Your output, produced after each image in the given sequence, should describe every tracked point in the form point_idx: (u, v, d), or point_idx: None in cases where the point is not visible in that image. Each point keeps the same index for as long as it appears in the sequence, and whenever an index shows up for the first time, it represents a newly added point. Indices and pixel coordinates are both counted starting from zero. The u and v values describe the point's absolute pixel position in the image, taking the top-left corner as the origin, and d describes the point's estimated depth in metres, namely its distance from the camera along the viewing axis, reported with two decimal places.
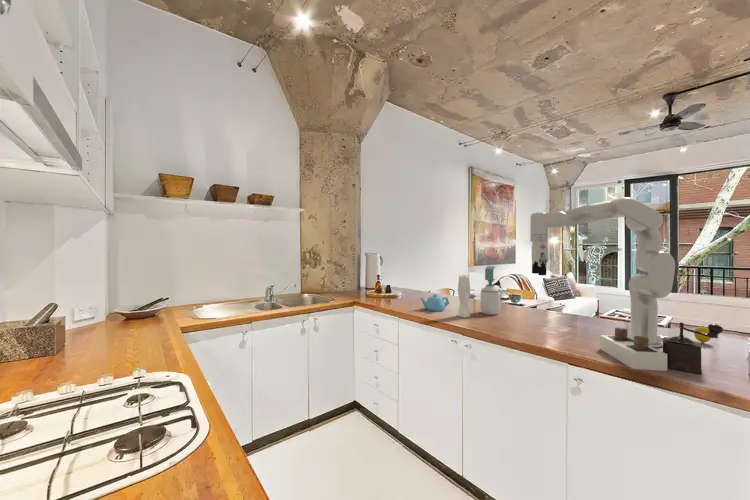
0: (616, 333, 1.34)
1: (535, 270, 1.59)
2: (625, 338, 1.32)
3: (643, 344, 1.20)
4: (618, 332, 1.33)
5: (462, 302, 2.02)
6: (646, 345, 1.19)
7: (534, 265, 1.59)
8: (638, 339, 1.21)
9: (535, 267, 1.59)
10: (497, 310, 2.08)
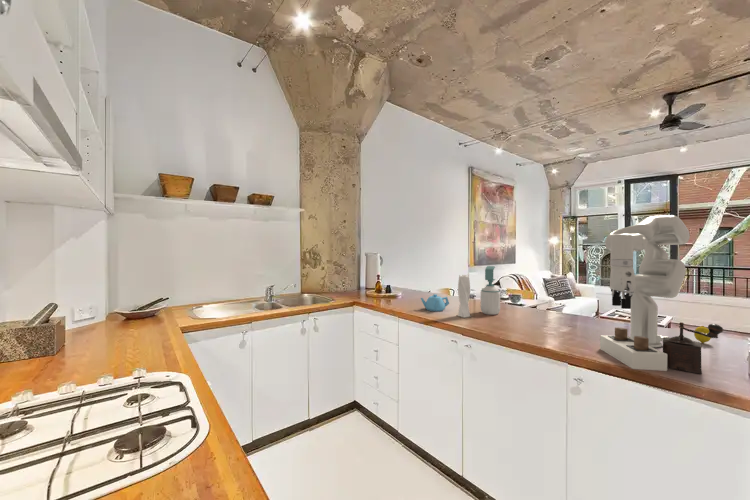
0: (616, 333, 1.34)
1: (616, 302, 1.37)
2: (625, 338, 1.32)
3: (643, 344, 1.20)
4: (618, 332, 1.33)
5: (462, 302, 2.02)
6: (646, 345, 1.19)
7: (615, 296, 1.37)
8: (638, 339, 1.21)
9: (616, 298, 1.37)
10: (497, 310, 2.08)
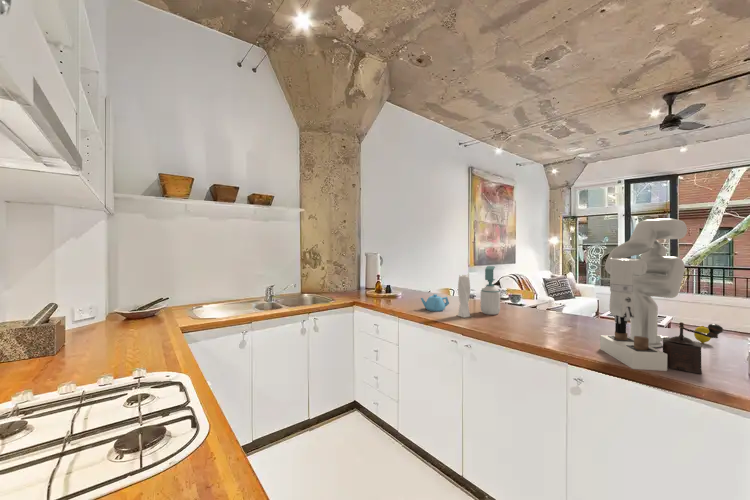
0: (616, 337, 1.34)
1: None
2: None
3: (643, 344, 1.20)
4: (618, 336, 1.33)
5: (462, 302, 2.02)
6: (646, 345, 1.19)
7: None
8: (638, 339, 1.21)
9: None
10: (497, 310, 2.08)
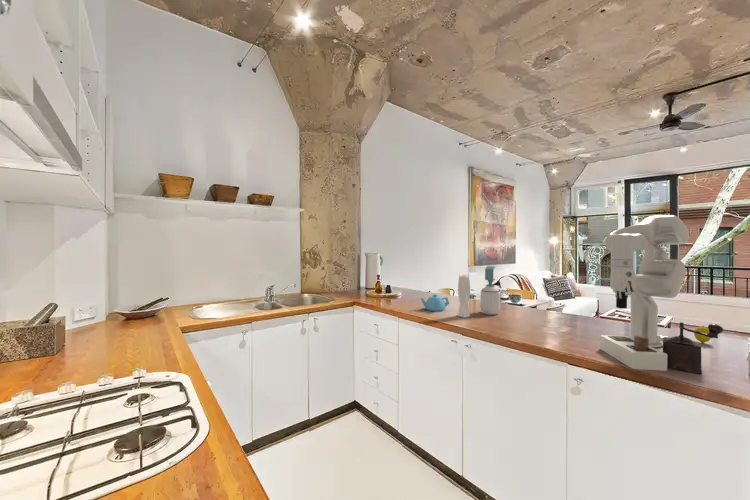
0: None
1: None
2: None
3: (643, 344, 1.20)
4: None
5: (462, 302, 2.02)
6: (646, 345, 1.19)
7: None
8: (638, 339, 1.21)
9: None
10: (497, 310, 2.08)
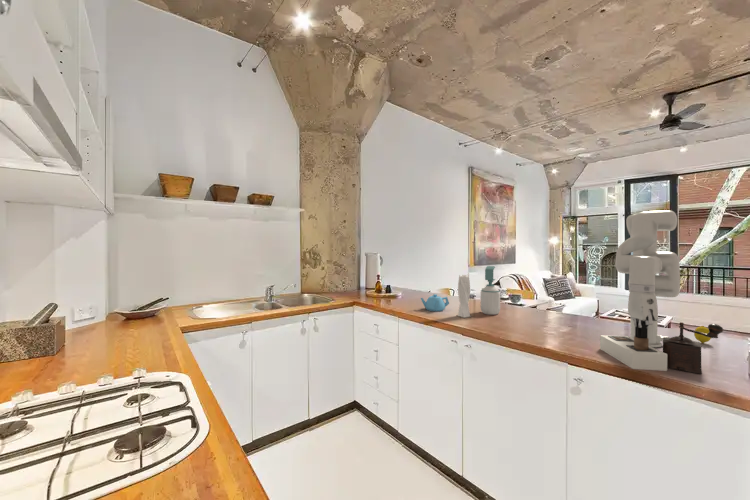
0: None
1: None
2: None
3: (643, 344, 1.20)
4: None
5: (462, 302, 2.02)
6: (646, 345, 1.19)
7: None
8: (638, 339, 1.21)
9: None
10: (497, 310, 2.08)
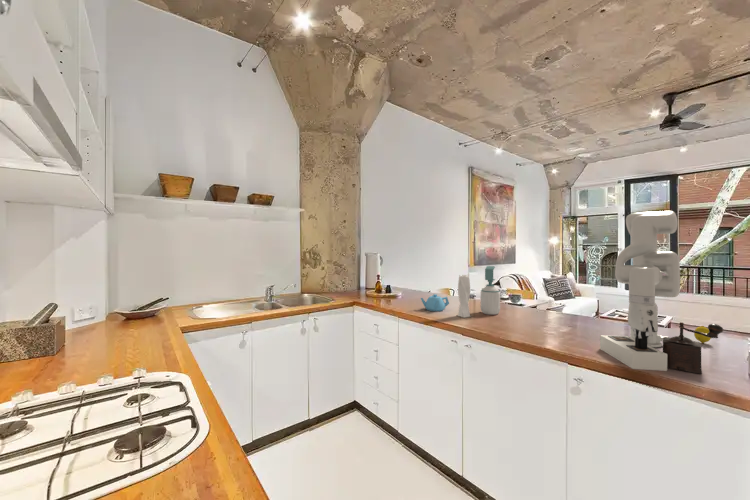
0: None
1: None
2: None
3: None
4: None
5: (462, 302, 2.02)
6: None
7: None
8: None
9: None
10: (497, 310, 2.08)
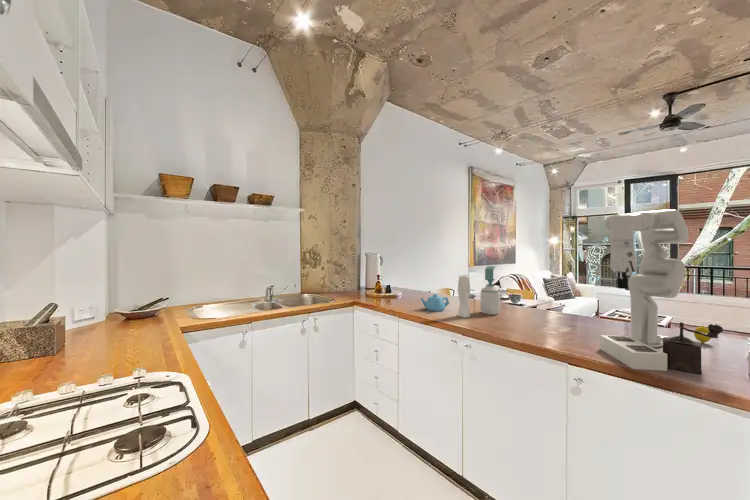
0: None
1: None
2: None
3: None
4: None
5: (462, 302, 2.02)
6: None
7: None
8: None
9: None
10: (497, 310, 2.08)
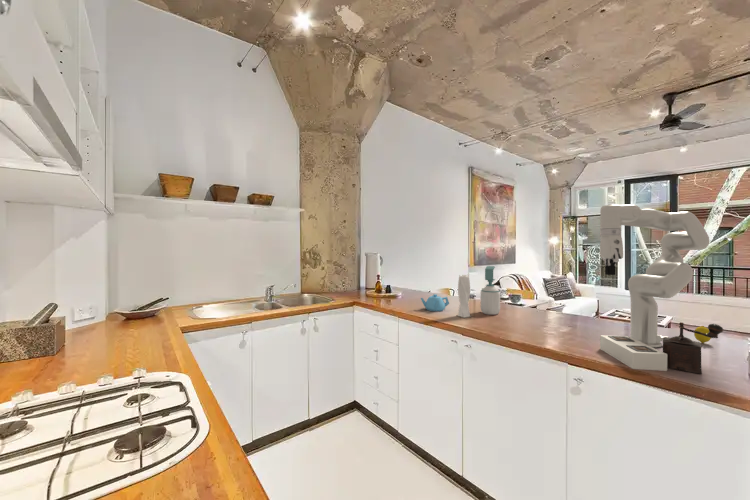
0: None
1: None
2: None
3: None
4: None
5: (462, 302, 2.02)
6: None
7: None
8: None
9: None
10: (497, 310, 2.08)
